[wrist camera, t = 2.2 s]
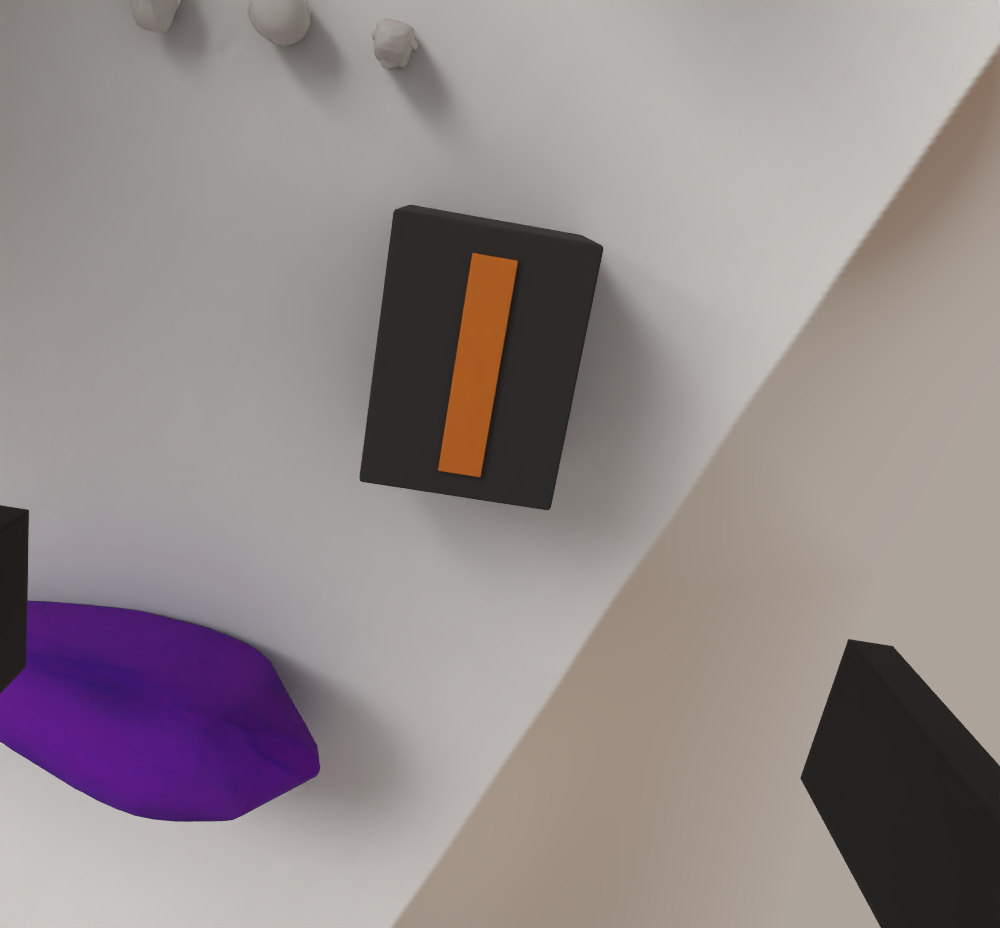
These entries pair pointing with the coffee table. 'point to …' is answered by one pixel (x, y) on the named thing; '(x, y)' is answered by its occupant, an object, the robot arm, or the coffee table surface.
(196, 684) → the purple long tapered piece
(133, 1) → the game pieces
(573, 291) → the black block
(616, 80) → the coffee table surface
